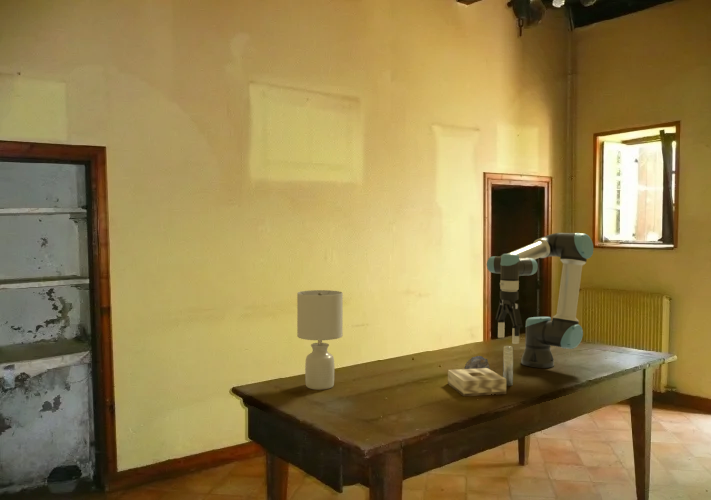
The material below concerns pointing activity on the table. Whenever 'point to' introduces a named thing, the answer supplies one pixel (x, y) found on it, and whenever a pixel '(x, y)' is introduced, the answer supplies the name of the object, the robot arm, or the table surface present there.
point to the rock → (477, 363)
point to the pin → (508, 364)
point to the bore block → (476, 382)
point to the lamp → (319, 333)
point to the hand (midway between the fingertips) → (508, 340)
